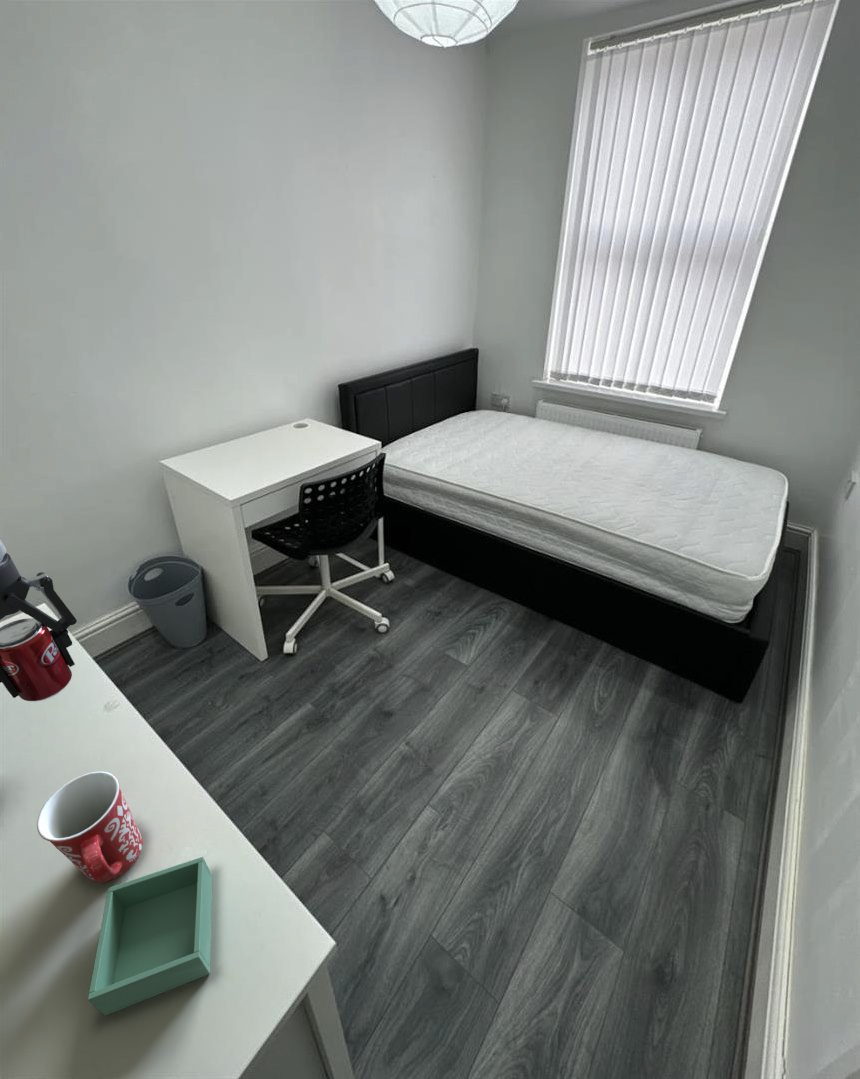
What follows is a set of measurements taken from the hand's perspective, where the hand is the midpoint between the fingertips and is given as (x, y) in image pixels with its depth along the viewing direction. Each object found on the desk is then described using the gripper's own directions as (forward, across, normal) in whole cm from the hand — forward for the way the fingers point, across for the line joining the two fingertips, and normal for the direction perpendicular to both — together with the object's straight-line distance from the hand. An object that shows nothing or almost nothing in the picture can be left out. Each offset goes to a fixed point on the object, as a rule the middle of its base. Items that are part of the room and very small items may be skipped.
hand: (42, 676), depth 78 cm
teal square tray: (+14, -7, -42) cm, 45 cm away
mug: (+14, -6, -28) cm, 32 cm away
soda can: (+2, 0, 0) cm, 2 cm away
